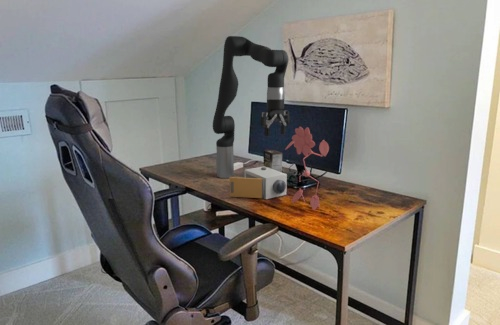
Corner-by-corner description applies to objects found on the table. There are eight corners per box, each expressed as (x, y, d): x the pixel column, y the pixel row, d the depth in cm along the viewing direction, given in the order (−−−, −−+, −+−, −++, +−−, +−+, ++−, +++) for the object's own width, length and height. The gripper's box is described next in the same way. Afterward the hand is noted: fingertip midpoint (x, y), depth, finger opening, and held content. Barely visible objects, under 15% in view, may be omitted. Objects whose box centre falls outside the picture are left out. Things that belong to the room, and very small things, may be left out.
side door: (229, 196, 176) (228, 178, 174) (230, 195, 178) (230, 176, 176) (263, 199, 173) (263, 179, 171) (264, 197, 175) (264, 178, 173)
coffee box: (262, 179, 205) (263, 150, 202) (273, 178, 208) (273, 149, 204) (271, 184, 198) (271, 153, 194) (282, 182, 200) (282, 152, 197)
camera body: (244, 189, 189) (244, 168, 186) (264, 185, 195) (264, 164, 193) (268, 200, 173) (268, 177, 170) (289, 195, 179) (289, 173, 177)
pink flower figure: (293, 196, 178) (294, 121, 170) (335, 212, 158) (338, 128, 149) (267, 203, 170) (266, 125, 161) (308, 221, 149) (310, 133, 141)
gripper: (283, 96, 172) (282, 132, 176) (257, 98, 164) (257, 135, 168) (293, 97, 166) (293, 134, 170) (267, 99, 158) (267, 138, 162)
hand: (275, 135), depth 169 cm, fingers open, 8 cm apart
